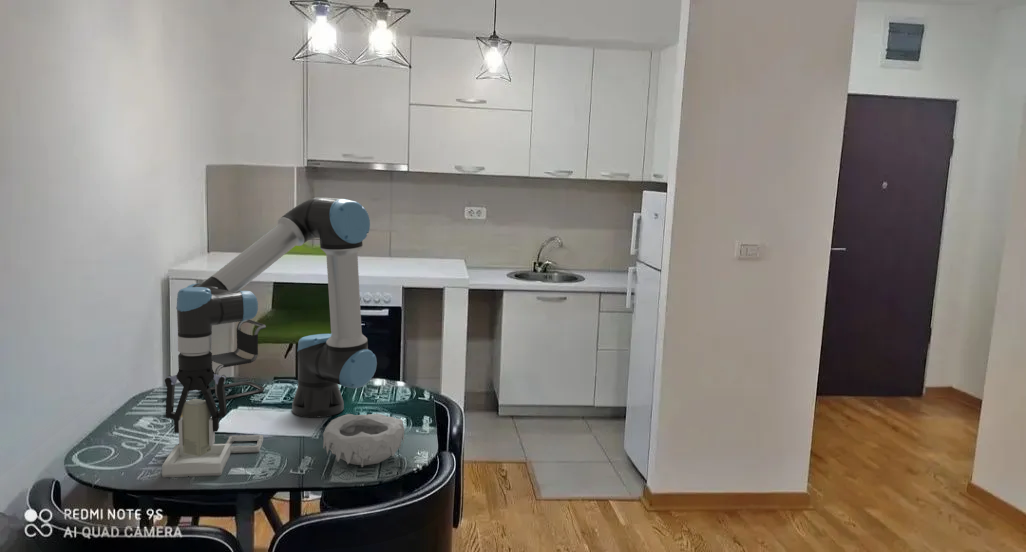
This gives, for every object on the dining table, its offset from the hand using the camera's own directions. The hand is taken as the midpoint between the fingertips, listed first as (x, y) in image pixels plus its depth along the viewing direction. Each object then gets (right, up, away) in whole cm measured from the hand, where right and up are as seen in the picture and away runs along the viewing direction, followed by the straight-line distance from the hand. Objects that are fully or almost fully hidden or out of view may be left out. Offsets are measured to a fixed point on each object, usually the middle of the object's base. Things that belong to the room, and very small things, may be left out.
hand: (197, 444), depth 186 cm
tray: (0, -5, +1) cm, 6 cm away
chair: (-13, +3, +60) cm, 61 cm away
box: (0, -2, 0) cm, 2 cm away
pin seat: (+6, -4, +14) cm, 16 cm away
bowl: (+39, -6, +8) cm, 40 cm away
